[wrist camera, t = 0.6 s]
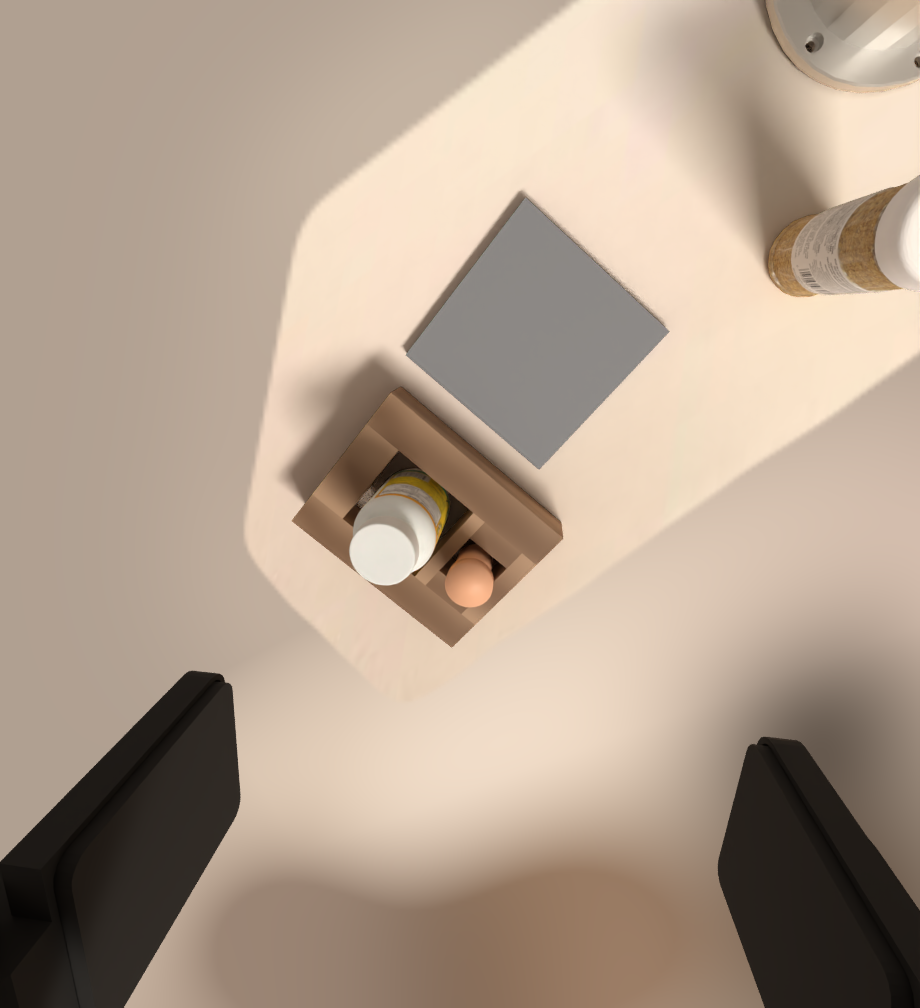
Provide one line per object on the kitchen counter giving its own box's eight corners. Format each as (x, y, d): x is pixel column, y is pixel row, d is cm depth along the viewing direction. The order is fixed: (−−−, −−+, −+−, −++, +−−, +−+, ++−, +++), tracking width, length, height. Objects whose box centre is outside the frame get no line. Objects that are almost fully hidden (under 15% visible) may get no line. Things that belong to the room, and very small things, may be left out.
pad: (525, 199, 34) (525, 197, 33) (667, 331, 35) (669, 331, 35) (407, 354, 38) (405, 355, 37) (538, 467, 39) (538, 469, 39)
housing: (401, 386, 39) (390, 392, 36) (561, 522, 40) (563, 538, 38) (307, 507, 43) (291, 520, 40) (457, 626, 44) (451, 647, 42)
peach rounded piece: (472, 531, 40) (465, 554, 36) (505, 559, 40) (502, 585, 37) (444, 561, 41) (435, 587, 37) (477, 588, 41) (471, 616, 38)
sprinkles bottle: (863, 260, 33) (1067, 229, 20) (790, 314, 34) (939, 316, 22) (820, 195, 32) (1006, 121, 19) (748, 253, 33) (877, 218, 21)
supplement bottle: (421, 452, 40) (388, 493, 31) (466, 510, 41) (446, 566, 32) (366, 493, 42) (319, 543, 33) (410, 547, 43) (376, 611, 34)
